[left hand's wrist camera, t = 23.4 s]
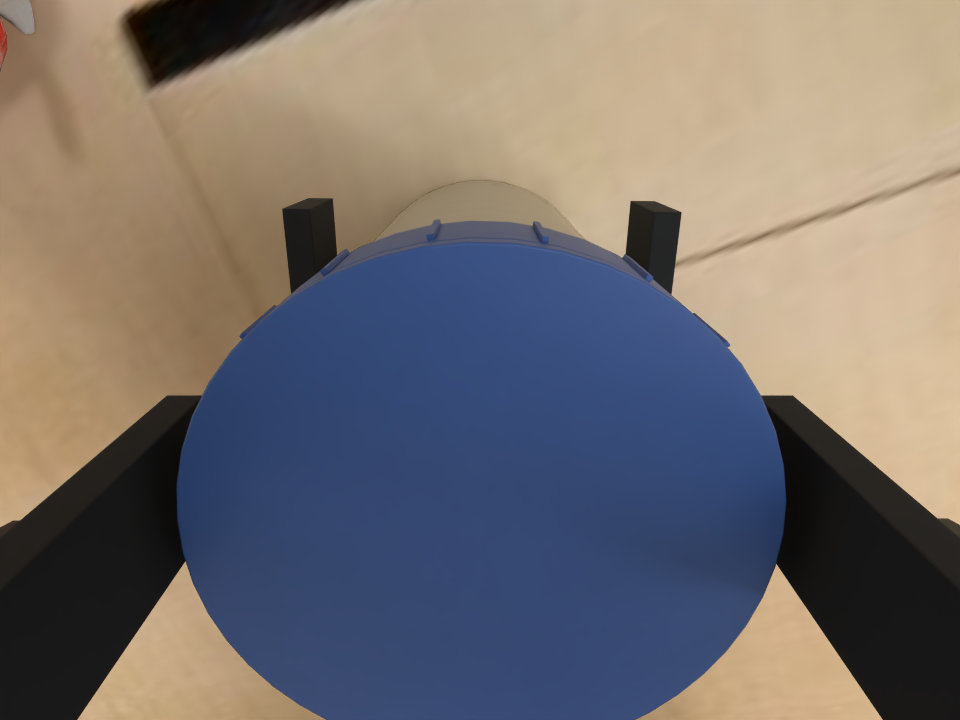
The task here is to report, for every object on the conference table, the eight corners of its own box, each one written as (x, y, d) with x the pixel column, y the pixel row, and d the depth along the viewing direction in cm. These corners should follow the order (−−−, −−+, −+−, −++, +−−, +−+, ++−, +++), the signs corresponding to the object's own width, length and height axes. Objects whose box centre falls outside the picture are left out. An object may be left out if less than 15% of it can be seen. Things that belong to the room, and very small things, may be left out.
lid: (413, 728, 15) (402, 824, 13) (112, 402, 12) (34, 460, 10) (813, 543, 13) (876, 621, 11) (579, 94, 10) (606, 84, 8)
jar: (452, 434, 28) (423, 761, 13) (322, 266, 25) (110, 451, 11) (632, 325, 26) (822, 569, 12) (513, 130, 23) (569, 133, 9)
